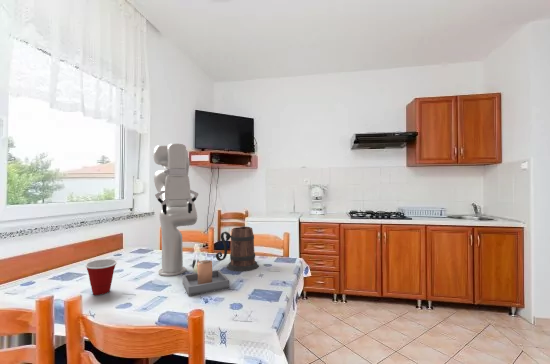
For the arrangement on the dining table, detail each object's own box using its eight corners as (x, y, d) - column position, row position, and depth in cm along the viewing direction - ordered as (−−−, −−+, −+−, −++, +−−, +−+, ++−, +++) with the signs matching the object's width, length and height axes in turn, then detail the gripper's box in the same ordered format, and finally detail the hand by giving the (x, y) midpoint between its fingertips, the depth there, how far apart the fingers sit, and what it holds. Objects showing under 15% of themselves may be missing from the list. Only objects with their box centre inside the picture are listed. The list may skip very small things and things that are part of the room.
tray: (182, 283, 118) (182, 275, 118) (219, 277, 125) (218, 269, 125) (188, 296, 104) (188, 287, 104) (229, 288, 111) (229, 280, 111)
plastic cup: (93, 300, 102) (93, 267, 102) (79, 294, 107) (79, 263, 108) (123, 290, 111) (122, 260, 111) (108, 285, 117) (108, 257, 117)
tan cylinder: (196, 282, 116) (196, 261, 116) (210, 280, 118) (210, 259, 119) (199, 287, 110) (199, 264, 111) (214, 284, 113) (213, 262, 113)
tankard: (263, 263, 147) (263, 226, 148) (252, 272, 131) (251, 231, 132) (223, 260, 154) (223, 224, 154) (208, 269, 138) (208, 229, 138)
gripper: (155, 172, 109) (155, 215, 109) (199, 172, 117) (200, 213, 116) (154, 173, 116) (154, 214, 115) (196, 173, 123) (196, 211, 123)
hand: (177, 213), depth 116 cm, fingers open, 9 cm apart
